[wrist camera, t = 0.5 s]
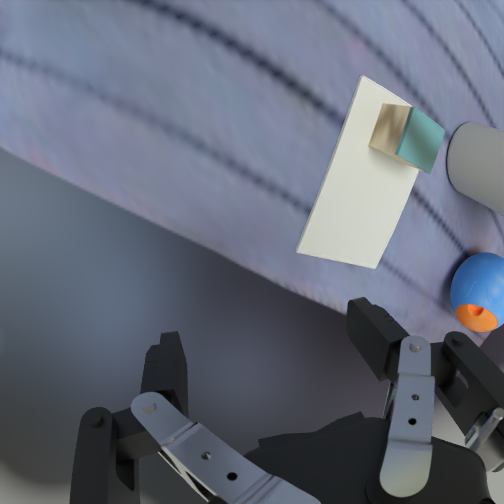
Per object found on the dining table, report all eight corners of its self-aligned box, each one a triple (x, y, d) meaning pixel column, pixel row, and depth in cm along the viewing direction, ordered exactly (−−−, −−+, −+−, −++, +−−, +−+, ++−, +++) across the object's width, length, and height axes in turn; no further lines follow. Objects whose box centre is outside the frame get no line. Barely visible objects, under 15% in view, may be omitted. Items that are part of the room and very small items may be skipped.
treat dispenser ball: (483, 270, 53) (526, 307, 40) (441, 314, 55) (482, 358, 42) (479, 224, 45) (534, 262, 32) (430, 274, 48) (484, 324, 34)
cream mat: (360, 75, 29) (362, 75, 28) (432, 122, 33) (435, 123, 33) (295, 250, 38) (296, 252, 38) (373, 266, 43) (375, 268, 42)
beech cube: (382, 103, 30) (414, 107, 25) (414, 123, 32) (445, 130, 27) (368, 145, 33) (397, 155, 28) (400, 161, 35) (430, 174, 30)
